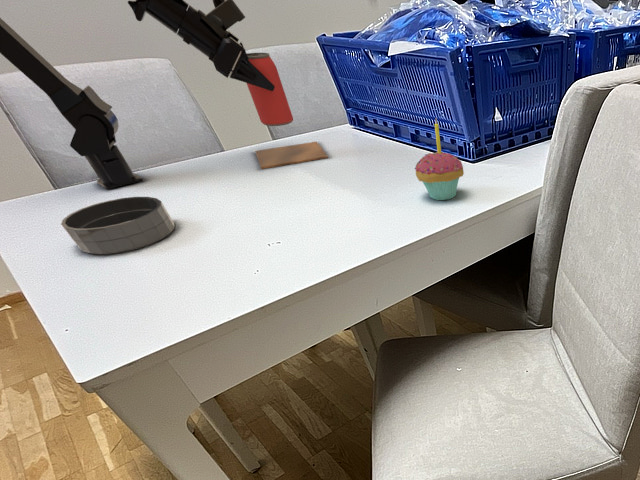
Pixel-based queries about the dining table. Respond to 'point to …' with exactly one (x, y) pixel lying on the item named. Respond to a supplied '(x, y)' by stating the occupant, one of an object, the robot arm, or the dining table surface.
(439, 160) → the cupcake
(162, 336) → the dining table surface
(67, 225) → the pan
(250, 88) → the beer can
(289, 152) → the cork mat
